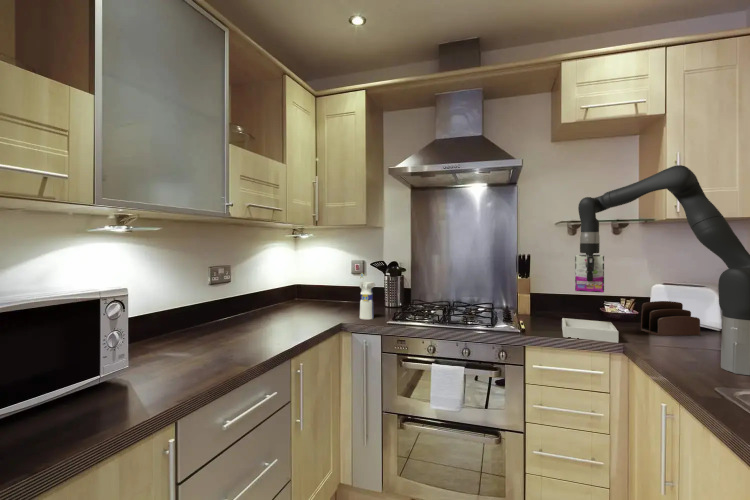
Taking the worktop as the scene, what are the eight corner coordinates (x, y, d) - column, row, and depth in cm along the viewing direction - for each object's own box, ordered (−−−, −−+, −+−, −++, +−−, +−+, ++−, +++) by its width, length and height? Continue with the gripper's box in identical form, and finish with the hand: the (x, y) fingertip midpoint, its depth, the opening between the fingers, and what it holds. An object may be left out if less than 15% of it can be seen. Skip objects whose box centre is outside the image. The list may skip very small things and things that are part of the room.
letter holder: (640, 330, 169) (641, 300, 169) (680, 330, 171) (681, 300, 170) (658, 336, 159) (658, 304, 159) (700, 335, 161) (701, 304, 160)
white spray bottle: (372, 320, 189) (373, 272, 189) (357, 319, 191) (357, 272, 191) (376, 316, 197) (376, 271, 197) (361, 316, 199) (361, 270, 199)
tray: (618, 342, 148) (618, 331, 148) (563, 337, 157) (563, 326, 157) (610, 331, 166) (611, 322, 166) (562, 327, 175) (562, 318, 175)
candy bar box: (603, 291, 161) (603, 254, 160) (604, 292, 156) (604, 255, 156) (574, 289, 166) (574, 254, 165) (574, 291, 161) (575, 254, 161)
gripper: (601, 242, 152) (601, 282, 153) (597, 242, 165) (597, 279, 166) (581, 242, 156) (580, 281, 156) (578, 242, 169) (578, 278, 169)
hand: (589, 280), depth 161 cm, fingers closed on candy bar box, 5 cm apart
